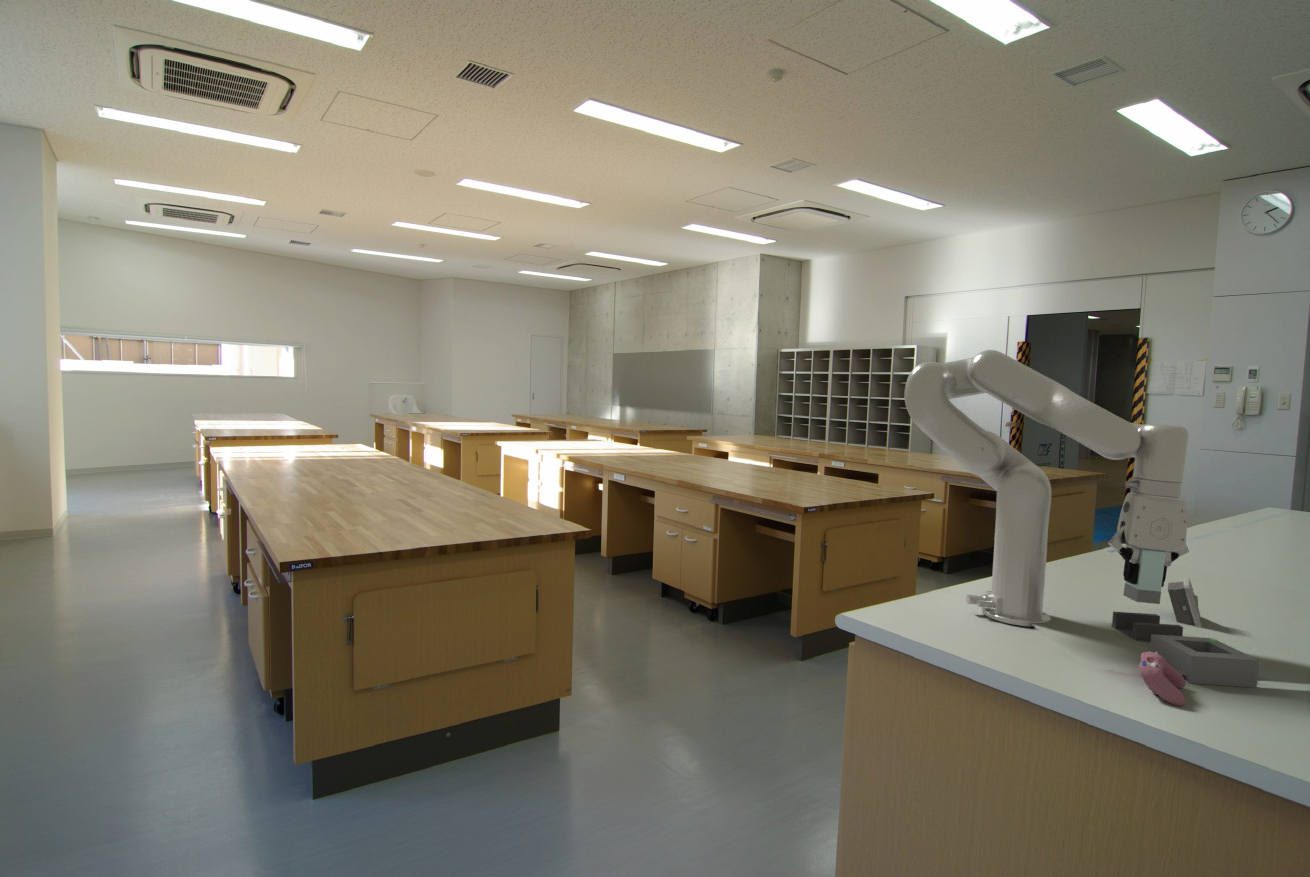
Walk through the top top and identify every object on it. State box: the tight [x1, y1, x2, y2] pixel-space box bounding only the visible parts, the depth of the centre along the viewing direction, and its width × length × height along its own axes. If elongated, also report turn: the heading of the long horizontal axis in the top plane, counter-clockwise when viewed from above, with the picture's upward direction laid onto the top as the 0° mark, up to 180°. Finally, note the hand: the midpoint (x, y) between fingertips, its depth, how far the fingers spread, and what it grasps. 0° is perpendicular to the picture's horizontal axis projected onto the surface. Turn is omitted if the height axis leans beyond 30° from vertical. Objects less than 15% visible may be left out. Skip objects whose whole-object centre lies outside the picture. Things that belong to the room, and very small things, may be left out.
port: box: [1149, 634, 1260, 689], centre depth 111 cm, size 10×10×5 cm
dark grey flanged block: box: [1111, 611, 1184, 643], centre depth 127 cm, size 8×8×4 cm
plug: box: [1123, 549, 1166, 605], centre depth 127 cm, size 4×4×10 cm
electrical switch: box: [1167, 577, 1203, 628], centre depth 138 cm, size 9×5×9 cm, turn 141°
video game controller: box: [1138, 650, 1187, 707], centre depth 103 cm, size 10×5×7 cm, turn 141°
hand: (1143, 582), depth 127 cm, fingers closed on plug, 4 cm apart
